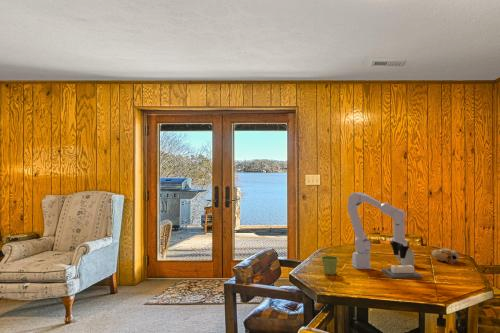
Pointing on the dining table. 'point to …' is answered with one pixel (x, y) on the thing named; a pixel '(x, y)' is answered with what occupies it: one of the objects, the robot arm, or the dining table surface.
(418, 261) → the dining table surface
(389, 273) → the keyhole plate
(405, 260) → the cup
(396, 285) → the dining table surface
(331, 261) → the plant pot
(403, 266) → the power strip
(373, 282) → the dining table surface
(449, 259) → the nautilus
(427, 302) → the dining table surface
